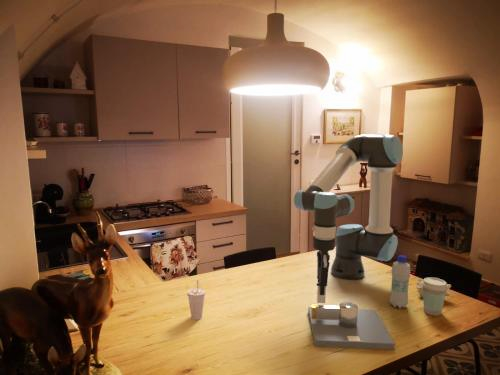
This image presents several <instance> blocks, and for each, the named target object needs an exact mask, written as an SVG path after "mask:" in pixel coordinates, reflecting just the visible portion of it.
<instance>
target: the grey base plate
mask: <svg viewBox="0 0 500 375" xmlns="http://www.w3.org/2000/svg"><path fill="white" fill-rule="evenodd" d="M307 312H308V317H309V318H308V319H309V322H310V328H311V334H312V337H313V343H314V347H323V348H324V347H325V348H327V347H328V348H346V349H347V348H348V349H349V348H350V349H351V348H352V349H367V350H368V349H369V350H371V349H373V350H389V351H391V350H392V351H394V350H395V347H396V346H395V345H396V343H395V342H394V340H393V338H392V336H391V334H390V333H389V331H388V330H387V327H386V326H385V324H384V323H383V321H382V319H381V317H380V316H379V314H378V312H377V310H376V309H371V308H370V309H368V308H358V315H357V326H356V327H353V328H347V327H343V326H341V325H340V324H339V320H325V319H312V318H311V306H309V307H308V310H307Z"/></svg>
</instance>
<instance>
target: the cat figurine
mask: <svg viewBox="0 0 500 375" xmlns="http://www.w3.org/2000/svg"><path fill="white" fill-rule="evenodd" d="M423 280H424V279H420V278H418V280H417V281H416V289H417V293H418V294H419V295H420V297H421V298H423V286H422V282H423ZM447 286H448V287H447V288H448V289H447V290H446V295H445V297H450V296H451V295H452V293H451V292H449V289H450V288H451V287H452V285H451V284H448V283H447Z"/></svg>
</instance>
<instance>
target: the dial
mask: <svg viewBox="0 0 500 375" xmlns="http://www.w3.org/2000/svg"><path fill="white" fill-rule="evenodd" d="M310 307H311V318H312V319H325V320H339V324H340V325H341V326H343V327H347V328H353V327H356V326H357V315H358V309H359V306H358V305H357V304H355V303H353V302H348V301H343V302H341V303H339V305H321V304H319V305H318V304H311V306H310Z"/></svg>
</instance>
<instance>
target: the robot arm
mask: <svg viewBox="0 0 500 375" xmlns="http://www.w3.org/2000/svg"><path fill="white" fill-rule="evenodd" d="M403 151H404V150H403V144H402V141H401V139H400V137H399V136H397V135H393V134H387V133H386V134H365V133H364V134H358V135H356V136H353V137H351V138H350V139H348V140H346V141H345V142H344V143H342V144H341V145H340V146H339V147H338V149H337V150H336V151H335V155H334V156H333V158H332V159H331V160H330V162H329V163H328V164H327V165H326V166H325V167H324V169H323V170H322V171H321V172H320V173H319V175H318V176H317V177H316V178H315V179H314V181H313V182H312V183H311V184H310V185H309V187H308V188H307V189H306V190H305V189H300V190H297V191H296V192H295V194H294V197H293V204H294V207H295V208H296V209H299V210H302V211H306V212H311V213H312V212H313V227H311V230H312V235H313V237H312V248H313V249H314V250H316V251H317V252H316V258H317V261H316V263H317V267H316V268H317V269H316V272H317V273H316V274H317V275H316V279H317V283H316V286H317V290H316V292H317V293H316V294H317V295H316V302H317V304H326V297H327V296H326V295H327V294H326V293H327V292H326V290H327V287H328V281H329V280H328V279H329V268H330V265H331V263H330V259H331V258H330V256H331V255H330V254H329V252H330V251H334V250H335V257H334V259H333V262H332V265H331V268H330V273H331V274H332V275H333V276H334V277H337V278H340V279H343V280H359V279H363V278H364V276H365V267H364V264H363V260H362V257H366V258H370V259H375V260H377V261H384V262H388V261H390V260H392V258H393V257H394V256H395V253H396V251H397V247H398V243H399V241H398V240H399V239H398V236H397V235H395V234H394V229H393V228H392V227H391V226H390V224H391V223H390V222H391V205H392V187H393V171H394V170H396V168H397V166H398V164H400V163H401V162H402V160H403V156H404V152H403ZM358 162H366V163H367V168H368V169H369V170H370V187H369V188H370V189H369V191H370V192H369V212H368V213H369V214H368V225H366V226H365V227H364V226H363V225H362V224H357V223H349V224H342V225H340V226H338V227H337V224H336V223H337V218H339V217H343V216H344V217H345V216H347V215H348V214H351V213H352V212H353V211H354V209H355V206H356V204H355V203H356V202H355V200H354V198H353V197H352V196H350V195H349V194H346V193H343V194H342V193H340V194H336V192H335V193H334V192H331V191H332V190H333V189H334V188H335V186H336V184H337V183H338V182H339V181H340V180H341V178H342V177H343V175H344V174H345V173H346V172H347V171H348V170H349V168H350V167H353V166H354V165H355V164H356V163H358Z"/></svg>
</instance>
